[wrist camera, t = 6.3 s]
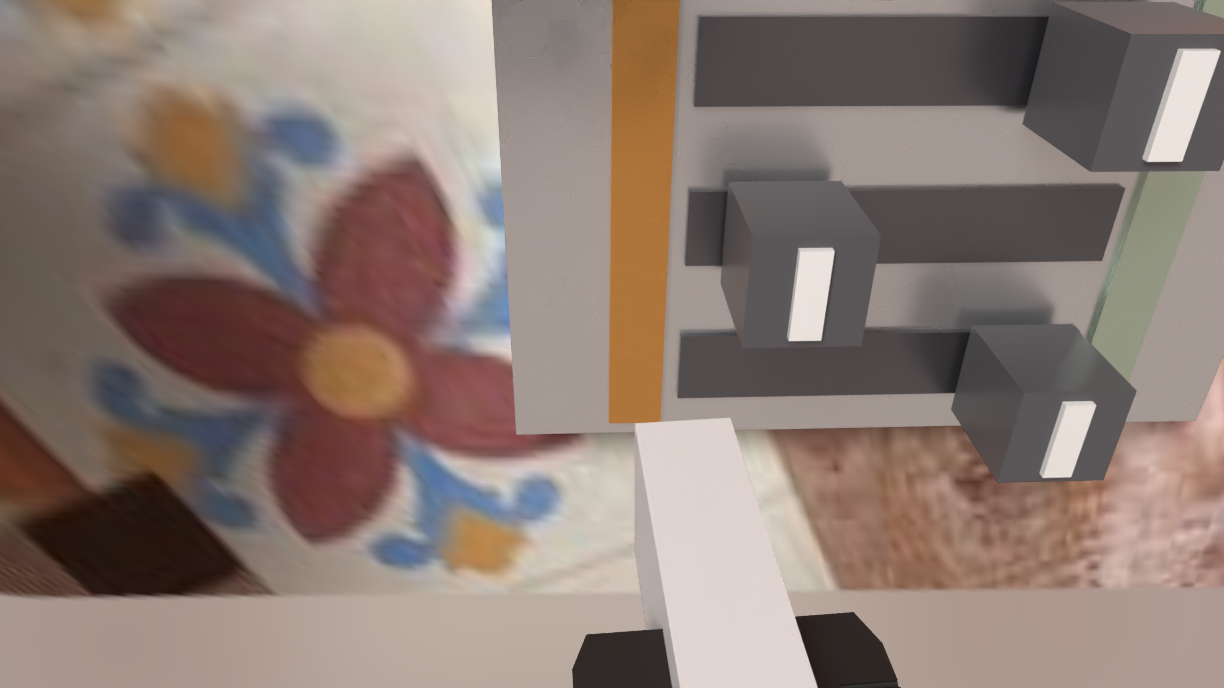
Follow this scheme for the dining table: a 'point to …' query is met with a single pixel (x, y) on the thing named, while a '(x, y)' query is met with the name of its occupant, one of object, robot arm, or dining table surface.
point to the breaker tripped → (797, 264)
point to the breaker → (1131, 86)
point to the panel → (821, 151)
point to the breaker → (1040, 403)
